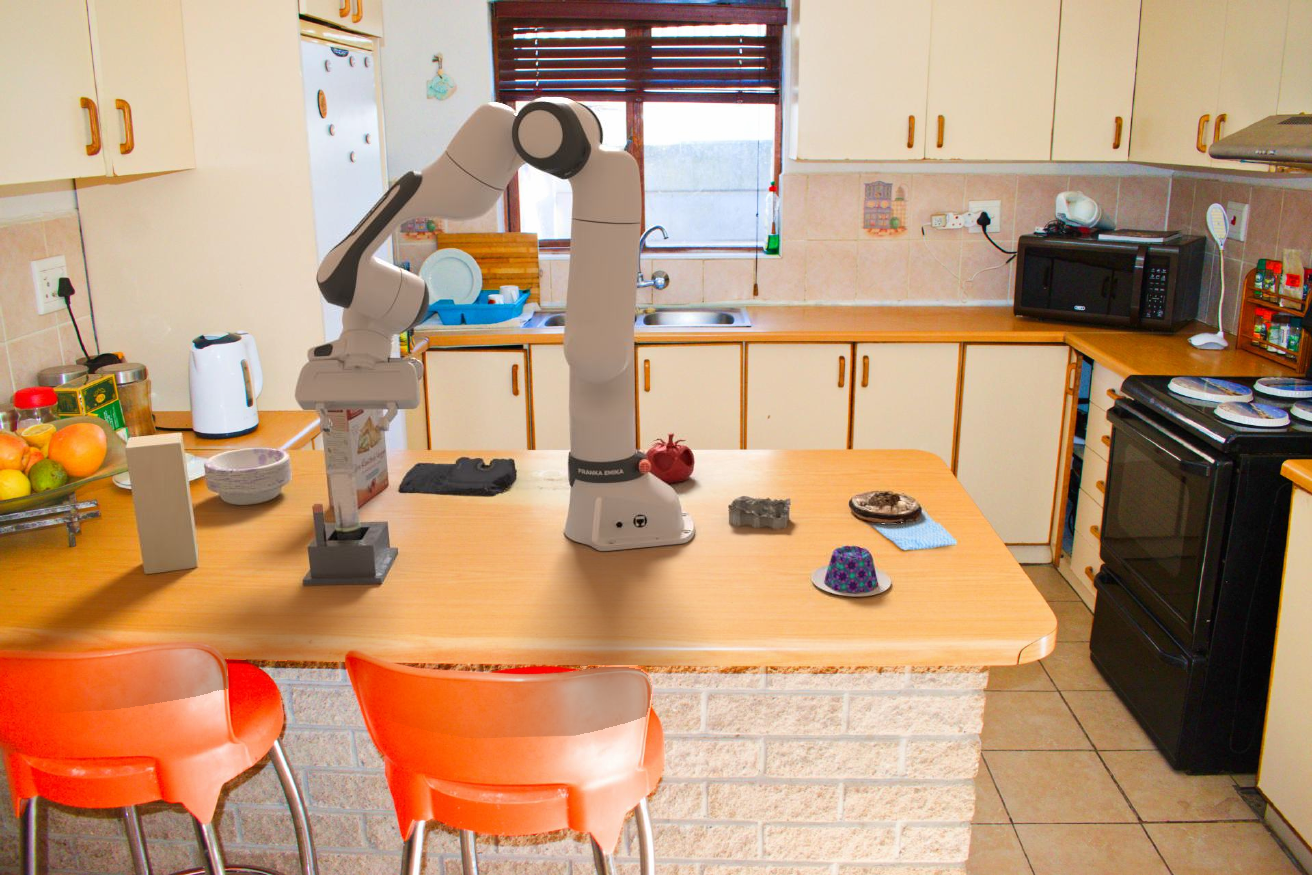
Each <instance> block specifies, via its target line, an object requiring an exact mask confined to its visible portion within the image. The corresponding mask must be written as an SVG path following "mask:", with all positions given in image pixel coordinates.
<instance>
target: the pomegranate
mask: <svg viewBox="0 0 1312 875" xmlns="http://www.w3.org/2000/svg"><path fill="white" fill-rule="evenodd" d="M667 436H668V440H667V442H666V441H665V440H663V439H662V438H657V439H655V440H653V442H655V441H660V442H656V443H654V444H652V445H651V447H650V449H648V450H647V451H646V452H645V453H646V455H647V456H648V460H649V461H650V463H651V468H650V469H651V470H650V471H649V472H650V473H651V474H653V475H654V476H656V477H657V478H659V479H660V480H662V481H663V482H665V483H666V484H673V483H680V482H684V481H686V480H688V479H689V478H690V477H691V476H692V474H693V473H694V469H695V463H696V462H695V455H694V453H693V451H692V449H691V448H690V447H688V446H686V445H682V444H679V443H680V442H686V439H677V440H676V441H674V436H675V433H673V432H670V433H668V434H667Z"/></svg>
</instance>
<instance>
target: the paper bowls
mask: <svg viewBox="0 0 1312 875" xmlns="http://www.w3.org/2000/svg"><path fill="white" fill-rule="evenodd" d="M290 457H291V456H290V454H289V453H288V452H287V451H284V450H282V449H277V448H271V447H270V448H269V447H249V448H240V449H233V450H228V451H225V452H220V453H218V454H215V455H212V456H210V457H209V458H207V459H206V460H205V461H204V464H203V467H204V478H205V484H206V488H207V489H208V490H209V491H211V492H212V493H217V494H218V495H219V497H220V498H221V499H222V500H223V501H224V502H225V503H227V504H232V505H236V506H237V505H239V506H248V505H249V506H250V505H257V504H262V503H266V502H269V501H271V500H273V499H275V498H276V497H277V496H278V495H280V493H281V491H282V488H283V487H284V486H286V485H288V484H289V483H290V482H291V481H292V479H293V478H292V477H293V476H292V467H291V458H290Z"/></svg>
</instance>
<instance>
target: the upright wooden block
mask: <svg viewBox="0 0 1312 875" xmlns="http://www.w3.org/2000/svg"><path fill="white" fill-rule="evenodd" d="M125 456H126V463H127V469H128V475H129V476H128V477H129V482H130V483H129V484H130V489H131V495H132V502H133V508H134V515H135V520H136V526H137V533H138V539H139V547H140V553H141V560H142V566H143V571H144V572H143V573H144V574H145V575H152V574H159V573H165V572H173V571H180V570H181V571H182V570H187V569H195V568H198V566H199V554H200V553H199V545H198V538H197V531H196V523H195V516H194V509H193V502H192V495H191V489H190V488H191V486H190V481H189V480H190V479H189V474H188V467H187V466H188V465H187V458H186V452H185V445H184V438H183V433H182V432H172V433H161V434H153V435H142V436H132V437H128V440H127V443H126V445H125Z"/></svg>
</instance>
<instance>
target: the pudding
mask: <svg viewBox="0 0 1312 875" xmlns="http://www.w3.org/2000/svg"><path fill="white" fill-rule="evenodd" d="M828 563H829V564H826V565H823V566H820V567H818V568H816V569H815V570H814V571H813V572H812V573H811V575H810V576H811V577H810V578H811V581H812V583H813V584H814V585H815V586H816V587H817V588H819V589H821V590H823V591H825V592H827V593H832V594H834V595H839V596H846V597H869V596H874V595H877V594H880V593H884V592H885V591H886V590H888V589H889V588H890V586H891V585H892V580H891V578H890V576H889V575H888V573H885V572H884V571H883V570H880V569H879V568H876V567H875V562H874V558H873V555H872V554H871V553H870V551H869V550H868V549H866V548H864V547H860V546H857V545H851V546H849V545H842V546H841V547H837V548H835V549H834V550H833V551H832V554H831V557H830V560H829V562H828ZM875 587H876V588H875ZM874 588H875V589H874Z"/></svg>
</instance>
